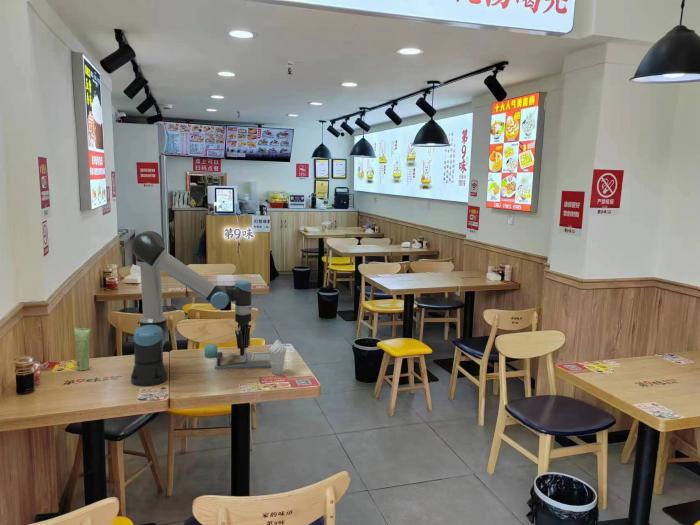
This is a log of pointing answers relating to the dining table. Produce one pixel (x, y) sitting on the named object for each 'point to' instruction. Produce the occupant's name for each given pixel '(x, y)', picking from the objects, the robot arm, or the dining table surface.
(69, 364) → the dining table surface
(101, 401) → the dining table surface
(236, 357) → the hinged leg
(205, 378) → the dining table surface
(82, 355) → the tube
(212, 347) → the teal egg shape
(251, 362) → the jig board
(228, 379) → the dining table surface
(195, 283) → the robot arm
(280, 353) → the soft serve ice cream cone
